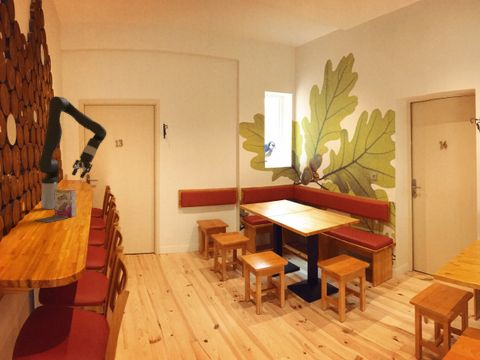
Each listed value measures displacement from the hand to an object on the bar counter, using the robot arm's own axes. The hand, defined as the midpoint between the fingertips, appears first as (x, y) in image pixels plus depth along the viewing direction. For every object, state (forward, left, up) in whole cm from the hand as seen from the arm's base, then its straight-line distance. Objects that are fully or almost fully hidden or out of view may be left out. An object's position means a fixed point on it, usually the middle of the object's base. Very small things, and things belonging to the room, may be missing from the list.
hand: (77, 176), depth 216 cm
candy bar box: (+2, -11, -24) cm, 26 cm away
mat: (+3, -22, -24) cm, 32 cm away
